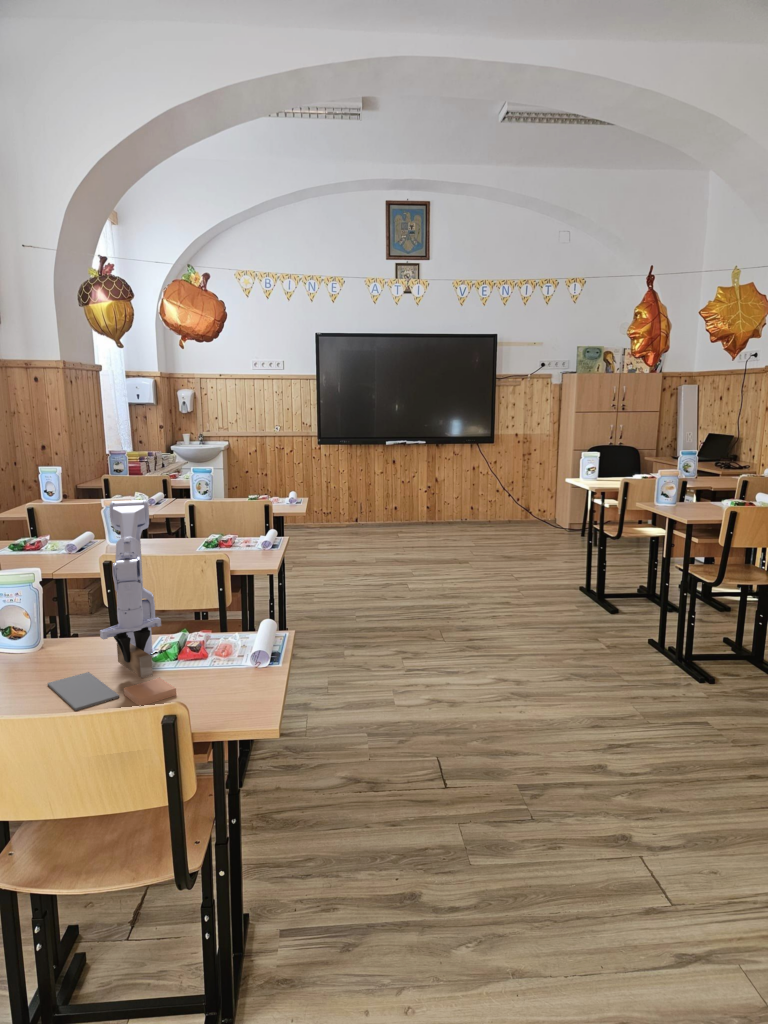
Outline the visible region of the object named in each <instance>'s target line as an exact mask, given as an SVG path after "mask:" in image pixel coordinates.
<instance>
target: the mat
mask: <svg viewBox="0 0 768 1024" xmlns="http://www.w3.org/2000/svg"><path fill="white" fill-rule="evenodd" d="M47 686H48V687H49V688H50V689H51V690H52V691H53V692H54V693H56V694H57V695H58V696H59V697H60V698H61V699H62V700H63V701H64V702H65V703H67V705H68V706H70V708H72V709H73V710H74V711H79V710H83V709H86V708H89V707H92V706H96V705H99V704H102V703H106V702H109V700H110V701H113V700H116V699H119V698H120V694H118V693H117V692H116V691H114V690H113V689H112V688H111V687H109V686H108V685H106V684H105V683H104V682H103V681H101V680H100V679H99V678H97V677H96V676H95V675H93V674H92V673H90V672H89V671H87V672H84V673H79V674H77V675H76V674H75V675H72V676H69V677H68V676H67V677H65V678H64V677H63V678H61V679H57V680H53V681H50V682H47ZM118 697H119V698H118ZM112 699H113V700H112ZM105 701H106V702H105Z"/></svg>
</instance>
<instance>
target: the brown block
mask: <svg viewBox="0 0 768 1024" xmlns="http://www.w3.org/2000/svg"><path fill="white" fill-rule="evenodd" d="M116 651H117V662H118V664H120V665H122V666H124V667H125V668H126V669H128V670H130V672H133V673H134V674H136V675H137V676H138V677H139V678H141V679H144V678H149V677H151V676H153V659H152V655H149V654H148V653H146V652H144V651H143V650H141V649H139V648H138V647H136V646H134V645H133V644H131V643H130V662H129V663H127V662H126V661H124V657H123V654H122V651H121V649H120V647H119V645H118V643H117V642H116Z"/></svg>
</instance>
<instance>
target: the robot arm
mask: <svg viewBox="0 0 768 1024" xmlns="http://www.w3.org/2000/svg"><path fill="white" fill-rule="evenodd" d="M149 506H150V505H149V501H148V500H147V499H141V500H136V499H135V500H117V501H115V500H111V502H110V503H109V517H110V522H111V524H112V525H111V526H112V528H113V529H114V530H116V531H118V532H120V539H118V540H117V541H116V544H115V559H114V560H115V562H113V563H112V578H113V582H114V590H115V592H116V615H117V622H118V623H117V624H115V625H112V626H110V627H107V628H104V629H100V630H99V635H100V639H101V640H104V641H105V640H108V638H112V637H113V638H114V640H115V642H116V644H117V643H118V645H119V647H120V649H121V651H122V654H123V657H124V661H126V662H127V663H129V662H130V643H131V644H133V645H134V646H136V647H138V648H139V649H141V650H143V651H144V652H146V653H148V654H149V655H150V654H151V653H153V652H154V651H153V650H154V649H155V648H154V647H153V638H152V637H153V636H152V634H153V633H152V628H154V627H157V628H158V627H162V618H160V617H158V616H157V617H156V606H155V605H156V604H155V596H154V594H153V592H152V591H150V590H149V589H146V588H145V587H144V578H143V564H142V563H143V561H142V560H143V559H142V548H141V547H142V544H141V542H142V541H141V536H142V533H143V530H146V529H148V528H149V525H150V510H149V508H150V507H149Z"/></svg>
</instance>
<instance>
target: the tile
mask: <svg viewBox="0 0 768 1024" xmlns="http://www.w3.org/2000/svg"><path fill="white" fill-rule="evenodd" d="M123 695H124V696H125V697H126V698H128V699H129V700H130V699H131V700H130V701H132V702H133V703H134V704H136V705H137V706H138V705H143V706H146V705H150V704H152V703H156V702H158V701H162V700H165V699H167V698H168V699H169V698H171V697H174V696H177V687H175V686H173V685H172V684H170V683H169V682H167V681H166V680H164V679H163V678H161V677H157V678H153V679H150V680H146V681H143V682H139V683H136V684H133V685H129V686H127V687H123Z"/></svg>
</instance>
